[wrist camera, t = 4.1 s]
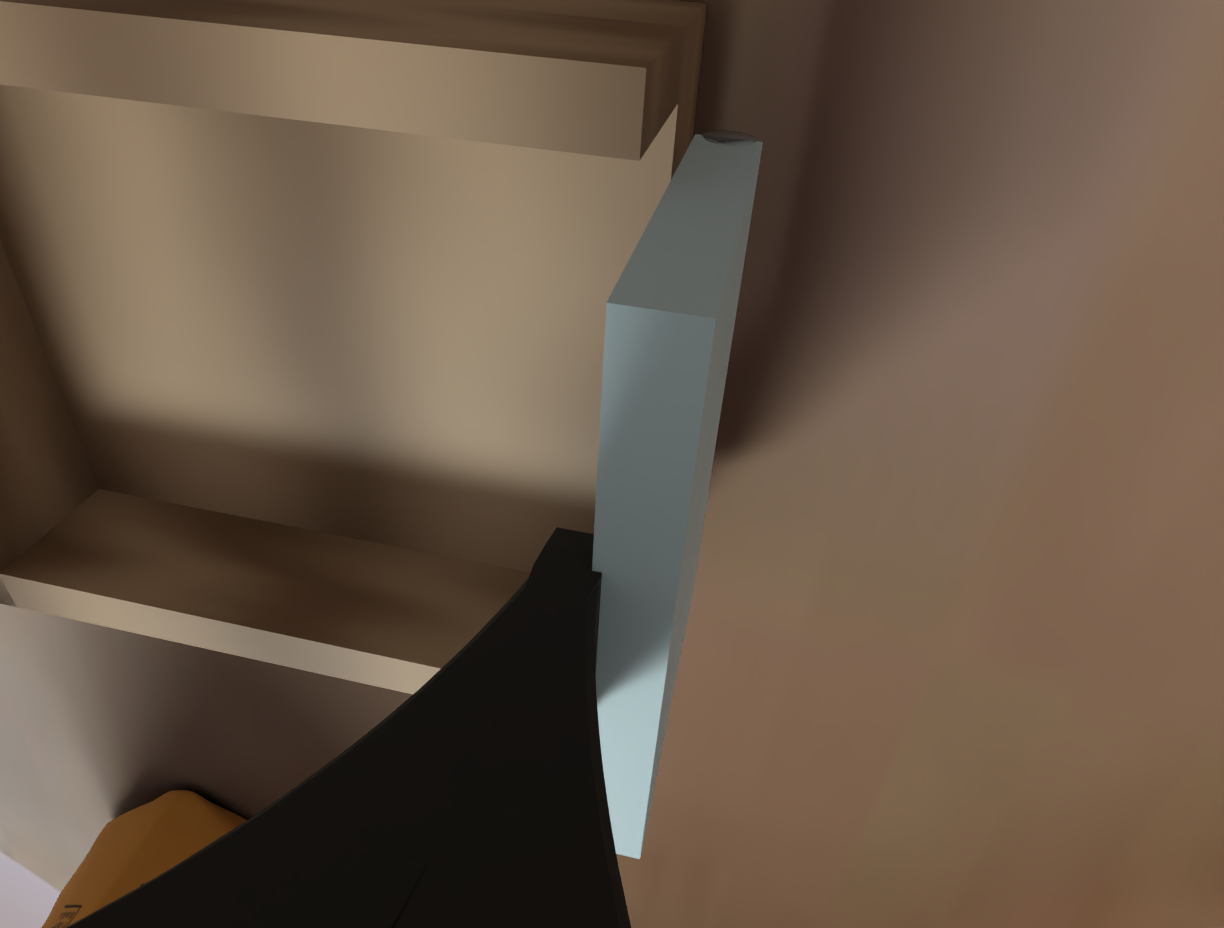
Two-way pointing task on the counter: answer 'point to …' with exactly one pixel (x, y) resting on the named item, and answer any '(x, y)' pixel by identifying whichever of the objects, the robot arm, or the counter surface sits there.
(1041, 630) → the counter surface
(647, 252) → the panel
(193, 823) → the coffee package
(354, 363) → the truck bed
